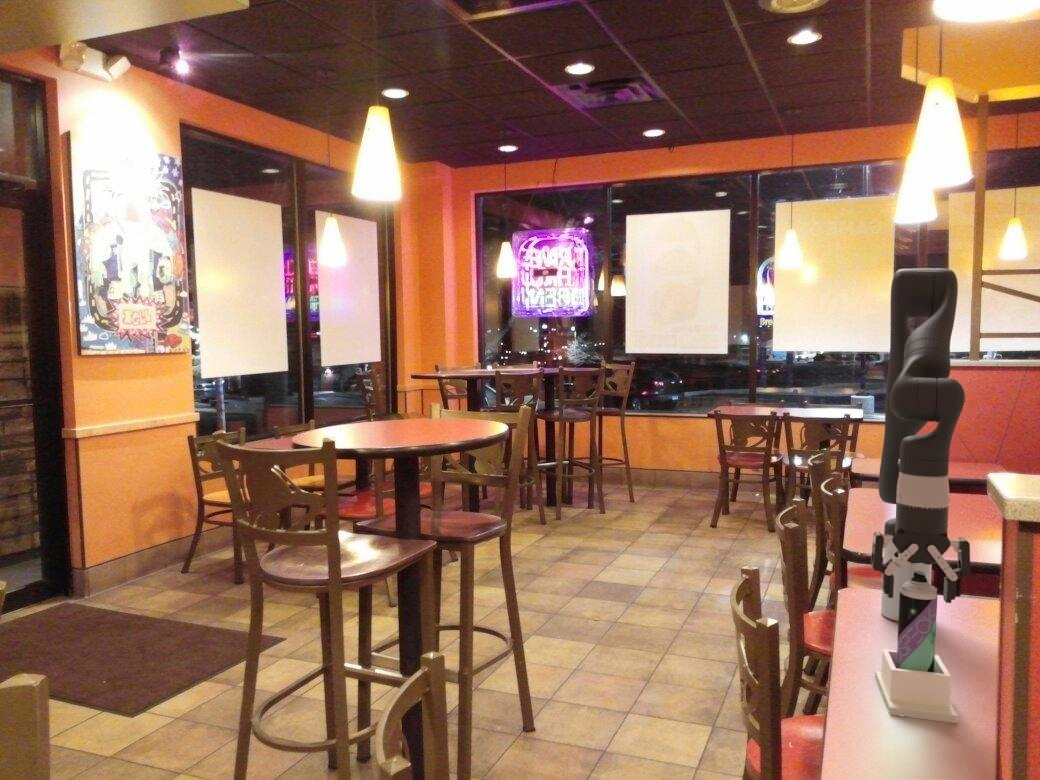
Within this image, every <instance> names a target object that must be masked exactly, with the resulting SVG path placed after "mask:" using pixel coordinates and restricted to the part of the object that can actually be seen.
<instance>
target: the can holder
mask: <svg viewBox="0 0 1040 780" xmlns="http://www.w3.org/2000/svg"><path fill="white" fill-rule="evenodd" d="M875 677H876V678H875ZM874 678H875V681H876V680H877V681H876V683H877V682H878V683H877V686H878V685H879V686H878V688H879V687H880V689H879V690H881V691H880V693H882V694H881V696H882V695H883V696H882V699H883V698H884V699H883V702H884V701H885V702H884V704H885V703H886V704H885V707H886V706H887V707H886V709H888V710H887V712H888V711H889V712H888V714H895V715H894V716H897V715H903V716H902V717H904V716H907V717H906V718H913V719H921V720H928V721H937V722H944V723H952V724H958V713H957V712H956V711H955V708H954V707H953V705H952V703H951V688H952V687H951V685H952V676H951V673H950V672H949V671H948V669H947V667H946V666H945V664H944V662H943V661H942V659H941V657H940V656H939V655H938V654H935V658H934V673H933V672H924V671H915V670H906V669H898V668H897V649H896V650H894V649H885V648H882V651H881V670H875V674H874Z"/></svg>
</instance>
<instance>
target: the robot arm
mask: <svg viewBox="0 0 1040 780" xmlns="http://www.w3.org/2000/svg"><path fill="white" fill-rule="evenodd" d="M958 283H959V282H958V278H957V275H956V273H955V272H954V270H952V269H950V268H942V267H937V268H936V267H935V268H932V267H927V268H926V267H925V268H923V267H922V268H915V267H914V268H913V267H912V268H900V269H898V270H896V272H895V273H894V275H893V277H892V280H891V287H890V332H889V333H890V334H889V335H890V336H889V337H890V347H889V355H888V356H889V359H888V365H887V366H888V367H887V368H888V369H887V378H886V387H885V407H884V409H885V410H884V413H885V415H884V435H883V443H882V444H883V445H882V449H881V450H882V452H881V458H880V466H879V474H878V485H877V486H878V487H877V488H878V494H879V498H880V499H881V501H882V502H884V503H885V504H890V505H896V506H895V518H890V519H888V520H887V521H886V522H885V523H884V528H883V529H884V530H883V532H884V533H881V532H880V531H875V532H874V533H873V538H872V547H871V558H870V565H871V567H872V569H873V570H874V571H876V572H880V573H882V581H881V583H882V584H881V602H880V603H881V607H880V613H881V615H882V616H883V617H885V618H887V619H889V620H893V621H895V622H899V599H900V588H901V584H902V583H904V582H907V581H909V579H910V578H912V577H913V575H914V571H920V572H923V573H924V574H925V577H926V579H927V580H928V581H929V584H931V585H932V567H933V566H932V565H933V564H935V563H936V564H937V565H938V566H939V567H940V568H941V569H940V570H942V571H943V573H944V574H945V576H943V597H942V598H943V601H944V602H945V603H946V604H952V601H954V600H955V599H956V597H957V582H958V580H960V579H968V578H970V577H971V547H970V545H971V544H970V542H969V541H968V540H967V539H966V538H965V537H963V536H962V537H958V539H955V538H954V539H953V538H951V539H950V538H949V536H948V526H949V525H948V524H949V506H950V505H949V504H950V501H951V498H950V484H949V465H950V452H951V451H950V449H951V443H952V439H953V436H954V433H955V429H956V426H957V423H958V421H959V419H960V416H961V413H962V412H963V410H964V407H965V406H964V405H965V401H966V399H965V398H966V393H965V389H964V388H963V385H962V384H961V383H960V382H959V381H958V380H957V379H954V378H950V375H951V340H952V339H951V338H952V334H953V329H954V324H955V319H956V314H957V313H956V312H957V305H958V294H959V293H958V291H959V285H958ZM909 318H927V320H925V321H924V322H923V323H921V324H920V325H919V326H918V327H916V328H915V329H914V330H913V331H912V330H911V327H910V322H909ZM929 422H932V423H934V422H936V423H937V425H936V427H935V428H934V429H933V430H931V431H930V432H927V433H923V434H918V433H919V432H920V431H921V430H922V429H923V428H924V427H925V426H926V425H927V423H929ZM950 547H952V549H953V551H954V552H955V553H956V554H957V568H953V569H952V567H951V565H950V564H949V563H948V562H947V561H946V559H945V557H943V555H945V553H946V552H947V551H948V550H949V548H950Z"/></svg>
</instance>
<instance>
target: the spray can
mask: <svg viewBox="0 0 1040 780" xmlns="http://www.w3.org/2000/svg"><path fill="white" fill-rule="evenodd" d="M937 592H938V589H937V587H935V586H933V585H932V583H931V584H929V581H928V580H927V579H926V577H925V574H924V573H923V572H920V571H914V575H913V577H912V578H910V579H909V581H907V582H904V583H902V584H901V588H900V599H899V622H898V621H897V622H898V627H897V645H896V646H897V649H896V651H897V668H898V669H906V670H915V671H924V672H933V673H934V658H935V655H936V635H937V632H936V630H937V615H938V614H937V613H938V593H937Z"/></svg>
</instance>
